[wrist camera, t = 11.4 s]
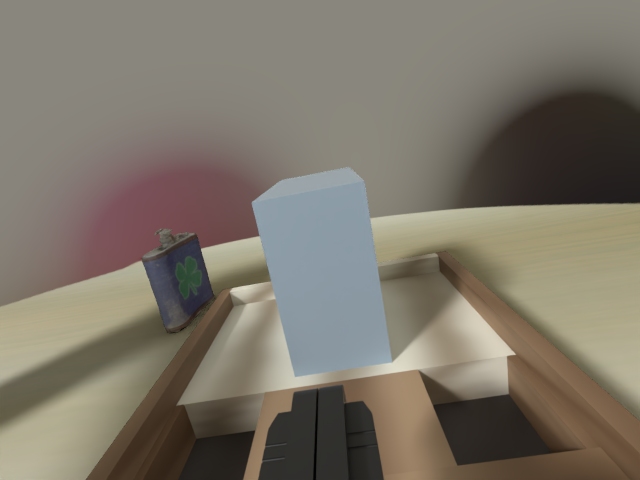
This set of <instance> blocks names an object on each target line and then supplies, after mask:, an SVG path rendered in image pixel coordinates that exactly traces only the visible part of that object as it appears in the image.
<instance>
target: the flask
mask: <svg viewBox="0 0 640 480" xmlns="http://www.w3.org/2000/svg"><path fill="white" fill-rule="evenodd" d="M162 230H163V229H160V230H159V231H156V233H157V234H158V233H159V234H160V241H159V242H160V243H162V246H159V247H157V248H156V249H154V250H152V251H151V252H149V253H147V254H145V255H144V256H143V257H142V262H143V265H144V267H145V270H146V273H147V276H148V278H149V281H150V284H151V287H152V290H153V293H154V296H155V298H156V301H157V304H158V307H159V311H160V314H161V317H162V320H163V322H164V326H165V329H166V330H167V329H168V330H170V331H171V332H170V331H168V330H167V332H168V333H172V332H179V331H180V330H181V329H182V328H184V327H186V326H188V325H189V324H190V323H191V322H190V321H192V320H193V319H194V318H195V317H197V316H198V315H199V314H200V313H201V309H202V308H205V307H206V305H207V304H208V303H210V302H211V300H213V299H214V298H215V297H214V294H213V291H212V289H211V284H210V281H209V277H208V273H207V269H206V267H205V263H204V259H203V256H202V252H201V248H200V245H199V241H198V237H197V235H196V234H195V233H191V234H190V233H188V232H186V233H181V234H177V235H175V236H174V235H171V234H170V232H171V231H172V230H171V229H170V230H168V229H164V230H163V231H162ZM161 231H162V232H161ZM156 233H155V235H156ZM178 236H179V237H178Z"/></svg>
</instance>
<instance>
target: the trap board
mask: <svg viewBox="0 0 640 480" xmlns="http://www.w3.org/2000/svg"><path fill="white" fill-rule="evenodd" d="M377 267H378V273H379V279H380V286H381V292H382V299H383V305H384V312H385V318H386V325H387V331H388V338H389V344H390V351H391V357H392V363H385V364H379V365H372V366H366V367H359V368H352V369H346V370H339V371H333V372H326V373H319V374H313V375H306V376H300V377H295V375H294V371H293V367H292V363H291V359H290V355H289V351H288V347H287V343H286V339H285V335H284V331H283V327H282V323H281V319H280V315H279V311H278V307H277V303H276V299H275V295H274V291H273V287H272V282H271V281H270V282H264V283H259V284H253V285H247V286H241V287H235V288H230V289H224V290H222V292H221V293H220V294H219V296H218V297H217V298H216V300H215V301H214V303H213V304H212V305H211V307H210V308H209V310H208V311H207V312H206V314H205V315H204V316H203V318H202V319H201V321H200V322H199V323H198V325H197V326H196V328H195V329H194V330H193V332H192V333H191V335H190V336H189V337H188V339H187V340H186V341H185V343H184V344H183V346H182V347H181V348H180V350H179V351H178V353H177V354H176V355H175V357H174V358H173V360H172V361H171V362H170V364H169V365H168V366H167V368H166V369H165V371H164V372H163V373H162V375H161V376H160V378H159V379H158V380H157V382H156V383H155V384H154V386H153V387H152V389H151V390H150V391H149V393H148V394H147V396H146V397H145V398H144V400H143V401H142V403H141V404H140V405H139V407H138V408H137V409H136V411H135V412H134V414H133V415H132V416H131V418H130V419H129V421H128V422H127V423H126V425H125V426H124V428H123V429H122V430H121V432H120V433H119V434H118V436H117V437H116V439H115V440H114V441H113V443H112V444H111V446H110V447H109V448H108V450H107V451H106V452H105V454H104V455H103V457H102V458H101V459H100V461H99V462H98V464H97V465H96V466H95V468H94V469H93V471H92V472H91V473H90V475H89V476H88V477H87V479H86V480H258V477H259V472H260V467H261V463H262V458H263V453H264V449H265V443H266V438H267V433H268V428H269V427H270V425H271V424H272V422H273V420H274V419H275V417H276V416H277V414H278V413H282V412H288V411H291V406H292V399H293V393H294V392H296V391H303V390H309V389H316V388H318V389H319V388H322V387H329V386H335V385H342V384H343V386H344V391H345V396H346V401H347V403H349V402H356V401H363V402H364V403H365V404H366V406H367V407H368V408H369V410H370V411H371V412H372V415H373V420H374V426H375V431H376V437H377V442H378V448H379V453H380V459H381V465H382V470H383V476H384V480H640V421H639V420H638V419H637V418H636V417H634V416H633V415H632V414H631V413H630V412H629V411H628V410H626V409H625V408H624V407H623V406H622V405H621V404H620V403H618V402H617V401H616V400H615V399H614V398H613V397H612V396H610V395H609V394H608V393H607V392H606V391H605V390H604V389H602V388H601V387H600V386H599V385H598V384H597V383H596V382H594V381H593V380H592V379H591V378H590V377H589V376H588V375H586V374H585V373H584V372H583V371H582V370H581V369H580V368H578V367H577V366H576V365H575V364H574V363H573V362H572V361H570V360H569V359H568V358H567V357H566V356H565V355H564V354H562V353H561V352H560V351H559V350H558V349H557V348H556V347H554V346H553V345H552V344H551V343H550V342H549V341H548V340H547V339H545V338H544V337H543V336H542V335H541V334H540V333H539V332H537V331H536V330H535V329H534V328H533V327H532V326H531V325H529V324H528V323H527V322H526V321H525V320H524V319H523V318H521V317H520V316H519V315H518V314H517V313H516V312H515V311H513V310H512V309H511V308H510V307H509V306H508V305H507V304H505V303H504V302H503V301H502V300H501V299H500V298H499V297H497V296H496V295H495V294H494V293H493V292H492V291H491V290H489V289H488V288H487V287H486V286H485V285H484V284H483V283H481V282H480V281H479V280H478V279H477V278H476V277H475V276H473V275H472V274H471V273H470V272H469V271H468V270H467V269H465V268H464V267H463V266H462V265H461V264H460V263H459V262H457V261H456V260H455V259H454V258H453V257H452V256H451V255H449V254H448V253H447V252H446V251H443V252H438V253H432V254H426V255H420V256H414V257H409V258H403V259H397V260H391V261H386V262H380V263H377Z"/></svg>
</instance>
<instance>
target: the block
mask: <svg viewBox="0 0 640 480" xmlns="http://www.w3.org/2000/svg"><path fill="white" fill-rule="evenodd" d="M252 206H253V209H254V214H255V218H256V222H257V226H258V230H259V234H260V238H261V242H262V246H263V250H264V254H265V258H266V262H267V266H268V270H269V274H270V278H271V282H272V287H273V291H274V295H275V299H276V303H277V307H278V311H279V315H280V319H281V323H282V327H283V331H284V335H285V339H286V343H287V347H288V351H289V355H290V359H291V363H292V367H293V371H294V375H295V377H300V376H306V375H313V374H319V373H326V372H333V371H339V370H346V369H352V368H359V367H366V366H372V365H379V364H385V363H392V357H391V351H390V344H389V338H388V331H387V325H386V318H385V312H384V305H383V299H382V292H381V286H380V279H379V273H378V267H377V260H376V254H375V247H374V241H373V234H372V228H371V221H370V216H369V208H368V202H367V195H366V189H365V182H364V180H363V179H361V178H360V177H359V176H358V175H357V174H356V173H355V172H354V171H353V170H352V169H351V168H350V167H347V168H342V169H337V170H332V171H326V172H322V173H316V174H311V175H306V176H300V177H295V178H290V179H285V180H281V181H280V182H278V183H277V184H276V185H274V186H273V187H272V188H270V189H269V190H268V191H266V192H265V193H264V194H262V195H261V196H260V197H258V198H257V199H256V200H254V201H253V202H252Z"/></svg>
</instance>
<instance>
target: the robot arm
mask: <svg viewBox="0 0 640 480" xmlns="http://www.w3.org/2000/svg"><path fill="white" fill-rule="evenodd" d="M258 480H384V476H383V470H382V465H381V459H380V453H379V448H378V442H377V437H376V431H375V426H374V420H373V415H372V412H371V411H370V410H369V408H368V407H367V406H366V404H365V403H364V402H363V401H356V402H349V403H347V401H346V396H345V391H344V386H343V384H342V385H335V386H329V387H322V388H319V389H318V388H316V389H309V390H303V391H296V392H294V393H293V399H292V406H291V411H288V412H282V413H278V414H277V416H276V417H275V419H274V420H273V422H272V424H271V425H270V427H269V428H268V433H267V438H266V443H265V449H264V453H263V458H262V463H261V467H260V472H259V477H258Z"/></svg>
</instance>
